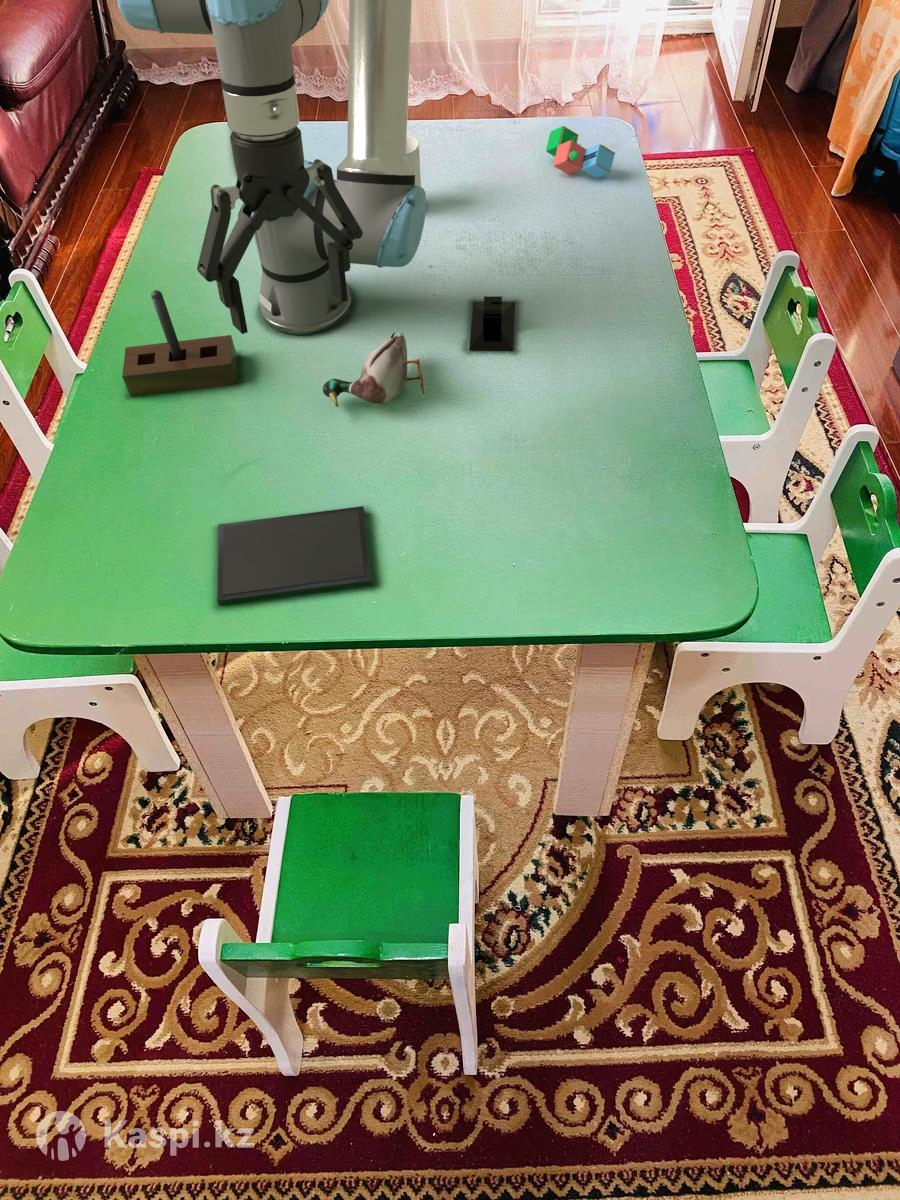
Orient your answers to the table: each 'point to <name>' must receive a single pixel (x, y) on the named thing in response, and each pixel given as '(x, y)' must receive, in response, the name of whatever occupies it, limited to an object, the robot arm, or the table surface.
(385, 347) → the decorative duck model
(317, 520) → the tablet
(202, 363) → the pen stand
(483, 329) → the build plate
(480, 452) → the table surface
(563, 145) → the building blocks
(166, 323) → the stylus
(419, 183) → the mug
